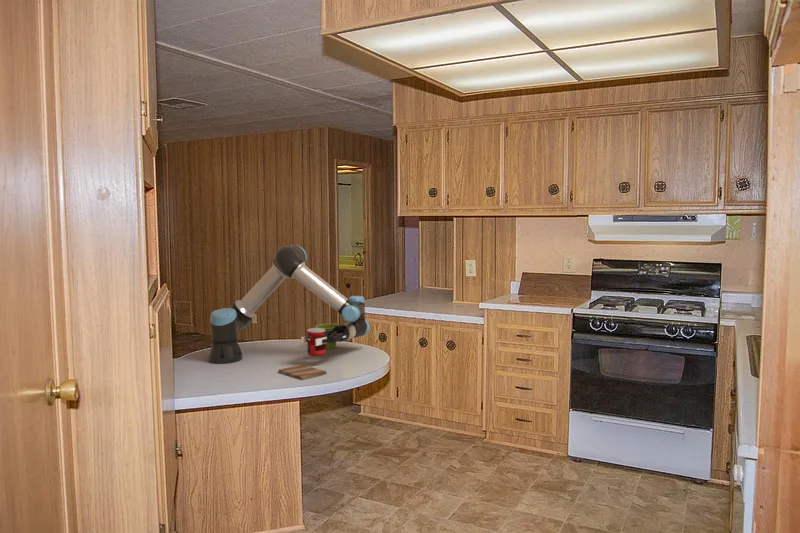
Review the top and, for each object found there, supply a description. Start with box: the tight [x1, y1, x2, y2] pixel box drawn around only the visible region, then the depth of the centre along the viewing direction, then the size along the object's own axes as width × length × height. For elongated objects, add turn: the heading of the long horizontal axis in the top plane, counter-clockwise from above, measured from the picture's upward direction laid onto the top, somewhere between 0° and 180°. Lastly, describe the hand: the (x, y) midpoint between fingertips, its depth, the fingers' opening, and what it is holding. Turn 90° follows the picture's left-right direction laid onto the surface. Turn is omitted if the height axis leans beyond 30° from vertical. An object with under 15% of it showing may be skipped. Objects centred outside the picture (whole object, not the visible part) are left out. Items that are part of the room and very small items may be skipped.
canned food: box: [306, 327, 327, 357], centre depth 268 cm, size 8×8×11 cm
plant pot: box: [314, 323, 339, 350], centre depth 302 cm, size 12×12×11 cm
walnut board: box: [278, 364, 327, 381], centre depth 256 cm, size 18×12×1 cm, turn 43°
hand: (308, 341), depth 264 cm, fingers closed on canned food, 8 cm apart
